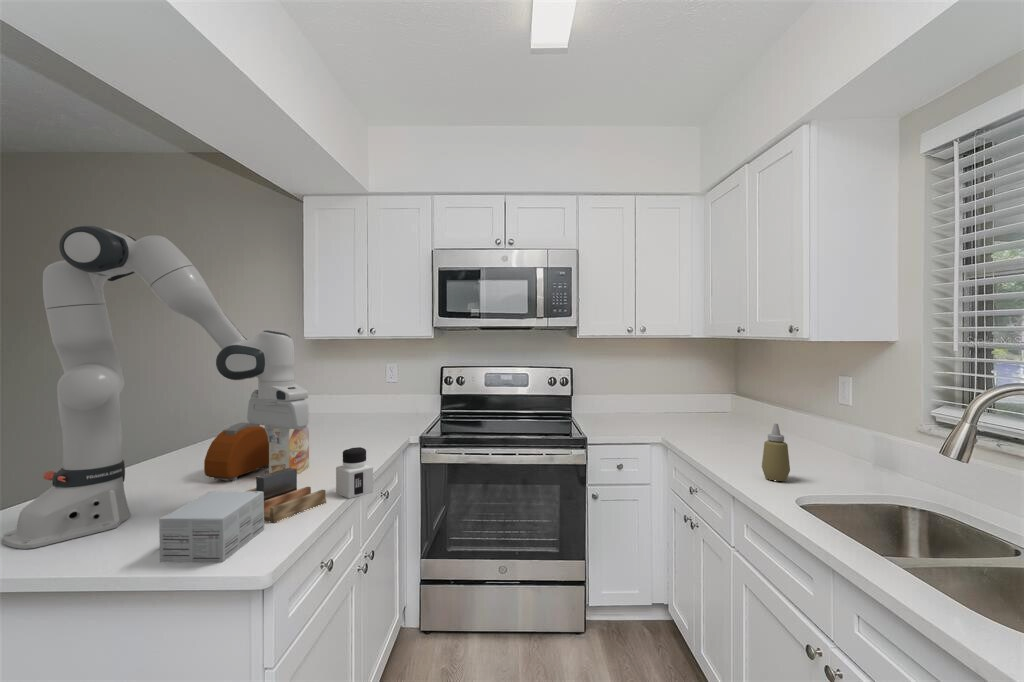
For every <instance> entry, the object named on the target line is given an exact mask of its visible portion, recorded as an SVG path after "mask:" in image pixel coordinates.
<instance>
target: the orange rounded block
mask: <svg viewBox="0 0 1024 682" xmlns="http://www.w3.org/2000/svg"><path fill="white" fill-rule="evenodd" d="M203 461H204V464H203V466H204V467H203V470H204V475H205V476H207V477H209V478H213V479H214V480H216V479H221V480H220V481H230V480H234V481H233V482H236V481H237V480H238V477H239V476H243V475H244V474H247V473H250V472H253V471H255V470H258V469H262V468H263V467H265V468H266V469H267V468H268V469H269V442H268V436H267V433H266V431H265V427H263V426H261V425H258V424H250V423H249V422H238V423H235V424H233V425H231V426H230V427H227V428H225V429H223V430H222V431H221V432H220V433H219V434H217V436H215V438H214V439H213V440H212V441H211V444H210V445H209V447H208V448H207V451H206V455H205V457H204V460H203ZM235 480H236V481H235Z"/></svg>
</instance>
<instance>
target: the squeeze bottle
mask: <svg viewBox="0 0 1024 682" xmlns="http://www.w3.org/2000/svg"><path fill="white" fill-rule="evenodd" d="M788 446H789V445H788V443H786V442H785V435H784V434H782V433H781V430H780V426H779V424H778V423H773V425H772V430H771V433H769V434H767V440H766V441H764V443H763V450H762V451H763V452H762V460H761V461H762V462H761V468H762V472H763V475H764V478H765V479H766V478H767V479H770V480H776V481H784V482H786V481H787V480H788V478H789V474H790V472H791V465H790V456H789V447H788ZM767 479H766V480H767ZM770 480H769V481H770ZM785 480H786V481H785Z"/></svg>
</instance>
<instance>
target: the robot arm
mask: <svg viewBox="0 0 1024 682" xmlns="http://www.w3.org/2000/svg"><path fill="white" fill-rule="evenodd" d="M58 246H59V247H58V248H59V253H60V255H61V256H62V258H63V260H58V261H55V262H52V263H51V264H49V265H47V266H46V267H45V268H44V270H43V272H42V296H43V304H44V309H45V315H46V318H47V322H48V327H49V331H50V336H51V341H52V344H53V346H54V349H55V350H56V354H57V356H58V359H59V361H60V364H61V368H62V370H63V374H62V375H61V377H60V378H59V380H58V382H57V386H56V393H57V406H58V414H59V420H60V427H61V434H62V468H60V469H59V470H57V471H56V472H55V471H53V470H47V471H45V472H44V473H43V475H42V478H43V479H44V480H46V481H52V486H51V487H50V488H48V489H47V490H46V491H44V492H42V493H41V494H40V495H39V496H38V497H36V498H35V499H34V500H32V501H31V502H29V503H28V504H27V505H25V506H24V507H23V508H22V509H21V510H20V513H19V514H18V515H19V516H18V519H17V524H16V527H15V529H14V530H10V531H8V532H6V533H4V534H3V537H2V543H3V544H4V545H5V546H8V547H10V548H13V549H24V550H25V549H28V550H29V549H35V548H40V547H44V546H47V545H52V544H55V543H60V542H64V541H68V540H72V539H76V538H81V537H84V536H89V535H93V534H96V533H97V534H98V533H100V532H105V531H109V530H113V529H116V528H117V527H119V526H120V525H121V524H122V523H123V522H125V521H126V520H128V519H129V518H130V517H131V515H132V513H131V511H130V509H129V506H128V505H129V504H128V502H127V498H126V492H125V484H124V482H125V477H126V467H125V460H123V428H122V426H123V425H122V418H121V417H122V416H121V407H120V406H121V405H120V404H121V403H120V401H121V400H120V396H121V395H120V394H122V392H123V391H124V387H125V378H124V377H125V376H124V373H123V370H122V369H123V367H122V365H121V361H120V357H119V353H118V350H117V346H116V343H115V339H114V336H113V331H112V327H111V322H110V316H109V311H108V308H107V302H106V299H105V298H106V297H105V293H104V285H105V283H106V282H107V281H110V282H113V281H118V280H119V279H122V278H125V277H128V276H131V275H134V274H136V275H138V276H139V277H140V279H142V281H143V282H144V283H145V284H146V286H147V287H148V289H150V290H151V292H153V294H154V295H155V296H156V297H157V299H159V300H160V302H162V303H163V304H164V305H165V306H166V307H168V308H169V309H170V310H171V311H174V312H176V313H177V314H180V315H183V316H185V317H187V318H189V319H191V320H192V321H194V322H195V323H197V324H198V325H200V326H201V327H202V328H203V329H204V330H205V331H206V333H207V334H208V335H209V336H210V337H211V338H212V340H213V341H214V342H215V343H216V344H217V345H218V347H219V348H220V349H221V350H220V351H218V352H219V353H218V354H217V356H216V359H215V364H216V365H215V367H216V370H217V371H218V372H219V374H220V375H221V376H222V377H224V378H226V379H229V380H231V381H243V380H244V381H245V380H247V379H254V378H257V382H258V384H257V385H258V387H257V389H255V390H254V391H253V392H252V393H251V394H250V399H249V401H248V405H247V417H246V419H247V421H248V422H247V423H250V424H258V425H260V426H264V428H265V431H266V433H267V436H268V442H271V443H274V442H277V443H278V444H284V443H286V436H287V434H288V432H289V429H301V428H305V427H306V426H307V424H308V419H309V420H310V412H309V404H308V401H307V399H308V398H309V391H308V390H307V389H306V388H303V387H302V386H300V385H298V384H297V383H296V381H295V380H296V379H295V375H294V368H295V363H296V359H295V357H296V355H295V347H294V346H295V345H294V340H293V338H292V337H291V335H289V334H287V333H285V332H280V331H275V330H273V331H272V330H267V329H266V330H262V331H260V333H258V334H256V335H254V336H253V337H250V338H248V339H247V338H246V337H245V336H244V335H243V334H242V333H241V332H240V331H239V329H238V328H237V327H236V325H235V324H234V323H233V322H232V321H231V320H230V318H229V317H228V316H227V315H226V314H225V312H224V311H223V310H222V308H221V307H220V305H219V304H218V301H217V300H216V299H215V297H214V295H213V293H212V291H211V289H210V288H209V287H208V285H207V282H206V281H205V279H204V277H203V276H202V275H201V274H200V272H199V270H198V269H197V268H196V266H194V264H193V263H192V262H191V260H190V259H188V257H187V256H186V255H185V254H184V253H183V252H182V251H181V250H180V249H179V248H178V246H177V245H175V244H174V243H173V242H172V241H170V240H169V239H168V238H167V237H165V236H162V235H154V234H152V235H146V236H144V237H141V238H139V239H136V238H134V237H132V236H130V235H129V234H128V235H127V234H124V233H122V232H119V231H116V230H114V229H110V228H103V227H99V226H94V225H80V226H76V227H73V228H70V229H68V230H67V231H65V233H64V234H63V235H62V236H61V238H60V240H59V245H58ZM275 427H279V431H281V432H280V435H279V437H277V435H275V432H274V428H275Z"/></svg>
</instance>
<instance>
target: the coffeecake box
mask: <svg viewBox="0 0 1024 682" xmlns="http://www.w3.org/2000/svg"><path fill="white" fill-rule="evenodd" d="M274 432H275V435H277V437H279V435H280V432H281V431H279V427H275V428H274ZM308 467H309V468H310V418H309V419H308V424H307V426H306V427H305V428H301V429H289V432H288V434H287V436H286V443H284V444H278V443H277V442H274V443H271V442H269V468H268V474H269V473H272V472H276V471H279V470H283V469H287V468H294V469H297V474H298V475H299V474H300V473H302V472H304V471H305V469H306V468H307V469H309V468H308ZM307 469H306V470H307Z"/></svg>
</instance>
